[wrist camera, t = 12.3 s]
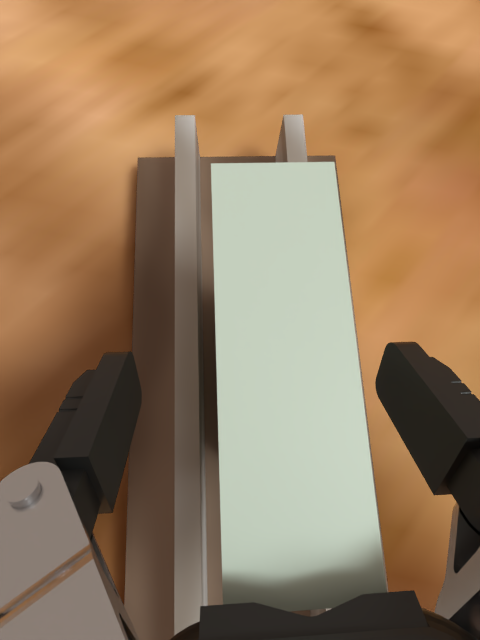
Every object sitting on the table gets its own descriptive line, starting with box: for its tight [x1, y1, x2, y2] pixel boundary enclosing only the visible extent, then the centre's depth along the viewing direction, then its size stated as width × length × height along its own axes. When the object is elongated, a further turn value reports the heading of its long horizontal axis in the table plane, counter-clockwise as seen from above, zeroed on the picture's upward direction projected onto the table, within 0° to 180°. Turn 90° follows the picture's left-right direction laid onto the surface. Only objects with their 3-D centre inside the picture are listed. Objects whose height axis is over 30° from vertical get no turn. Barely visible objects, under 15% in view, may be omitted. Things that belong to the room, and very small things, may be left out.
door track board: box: [124, 115, 388, 640], centre depth 16 cm, size 12×26×4 cm, turn 2°
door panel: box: [211, 162, 387, 611], centre depth 11 cm, size 3×8×11 cm, turn 2°
